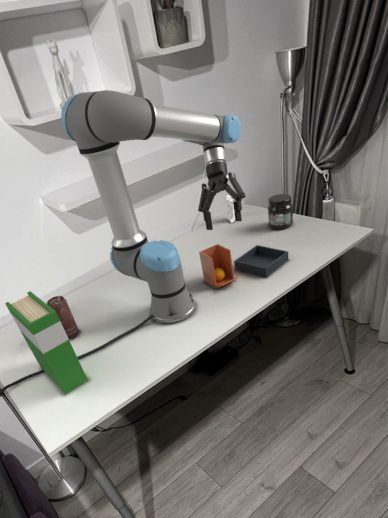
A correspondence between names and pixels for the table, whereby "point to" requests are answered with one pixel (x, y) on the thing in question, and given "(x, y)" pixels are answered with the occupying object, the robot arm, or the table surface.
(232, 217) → the white figurine
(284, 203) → the supplement container
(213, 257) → the orange open box
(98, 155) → the robot arm
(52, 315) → the hardback book
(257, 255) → the tray
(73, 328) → the can
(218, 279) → the ball
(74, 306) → the table surface
